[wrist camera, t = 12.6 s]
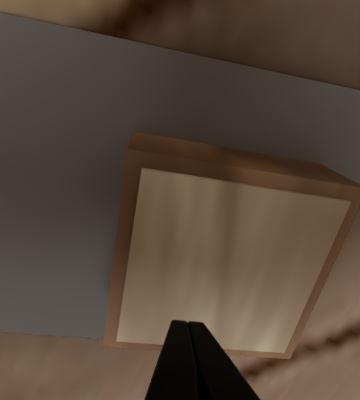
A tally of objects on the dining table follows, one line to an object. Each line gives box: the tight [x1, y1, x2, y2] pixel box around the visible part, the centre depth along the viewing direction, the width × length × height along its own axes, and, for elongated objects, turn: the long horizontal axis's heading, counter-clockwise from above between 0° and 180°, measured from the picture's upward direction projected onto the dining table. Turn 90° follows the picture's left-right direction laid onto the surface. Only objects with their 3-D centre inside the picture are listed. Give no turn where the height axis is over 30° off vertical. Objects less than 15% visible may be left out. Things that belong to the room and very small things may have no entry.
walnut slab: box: [103, 131, 360, 359], centre depth 12 cm, size 3×8×8 cm
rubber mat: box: [0, 12, 360, 339], centre depth 14 cm, size 16×14×1 cm
